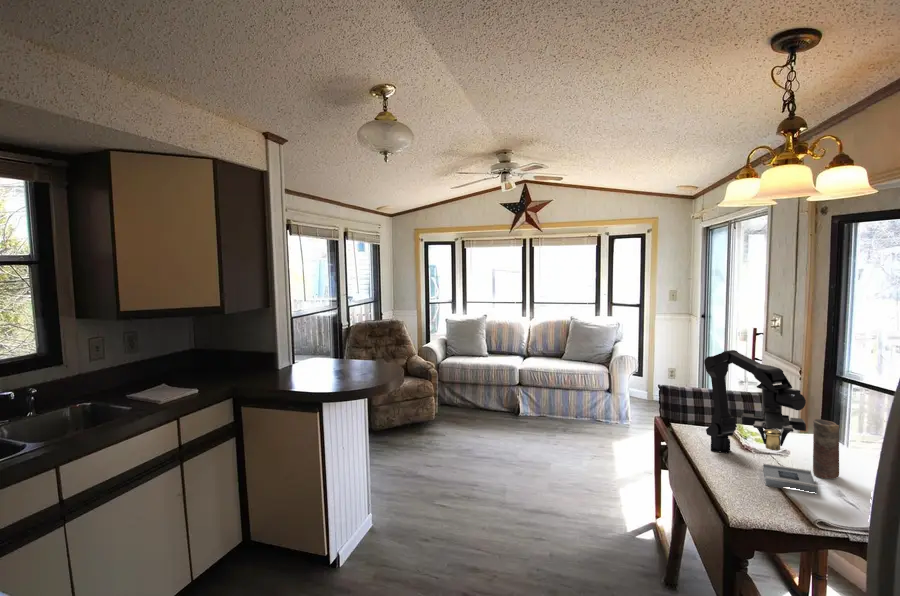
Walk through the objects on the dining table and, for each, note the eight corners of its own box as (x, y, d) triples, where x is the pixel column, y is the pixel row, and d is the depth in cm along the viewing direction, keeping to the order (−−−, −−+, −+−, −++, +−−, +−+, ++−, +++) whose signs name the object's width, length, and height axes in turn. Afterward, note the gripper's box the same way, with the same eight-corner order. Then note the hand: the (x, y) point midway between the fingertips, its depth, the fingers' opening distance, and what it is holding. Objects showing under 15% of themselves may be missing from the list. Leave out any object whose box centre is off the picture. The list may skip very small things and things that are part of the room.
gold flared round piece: (764, 449, 163) (764, 433, 163) (763, 444, 167) (763, 428, 167) (782, 451, 160) (782, 435, 160) (780, 446, 165) (780, 430, 164)
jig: (765, 485, 158) (765, 477, 158) (763, 471, 168) (763, 463, 168) (816, 494, 151) (816, 485, 151) (810, 478, 161) (810, 470, 161)
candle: (814, 468, 168) (814, 416, 166) (840, 474, 163) (841, 421, 161) (811, 476, 163) (811, 422, 161) (837, 482, 157) (838, 427, 156)
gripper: (742, 406, 161) (743, 448, 162) (808, 411, 151) (808, 457, 152) (741, 398, 170) (742, 438, 171) (803, 402, 161) (804, 445, 161)
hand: (772, 444), depth 164 cm, fingers closed on gold flared round piece, 4 cm apart
